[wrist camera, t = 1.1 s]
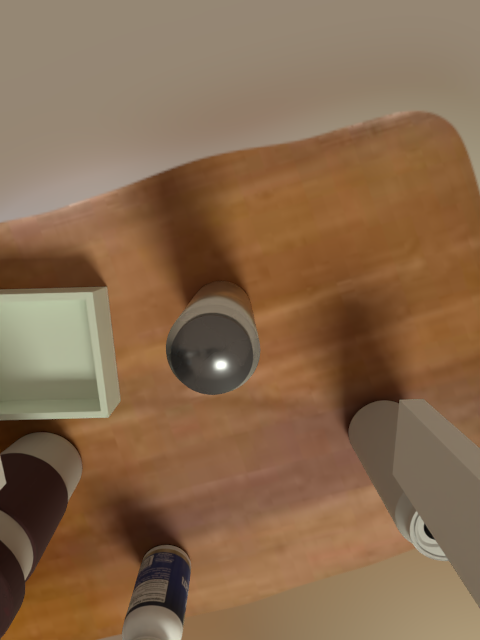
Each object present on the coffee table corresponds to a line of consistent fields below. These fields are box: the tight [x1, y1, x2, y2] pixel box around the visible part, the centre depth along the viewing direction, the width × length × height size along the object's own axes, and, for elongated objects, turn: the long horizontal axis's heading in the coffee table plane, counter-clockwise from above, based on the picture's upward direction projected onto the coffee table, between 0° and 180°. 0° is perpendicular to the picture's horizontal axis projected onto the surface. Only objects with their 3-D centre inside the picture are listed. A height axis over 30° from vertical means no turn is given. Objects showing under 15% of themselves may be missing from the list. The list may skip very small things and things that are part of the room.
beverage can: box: [349, 400, 449, 561], centre depth 28 cm, size 6×6×12 cm
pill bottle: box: [122, 545, 191, 640], centre depth 32 cm, size 5×5×10 cm
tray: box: [0, 287, 121, 420], centre depth 30 cm, size 12×11×3 cm
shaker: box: [166, 281, 260, 395], centre depth 25 cm, size 6×6×12 cm
